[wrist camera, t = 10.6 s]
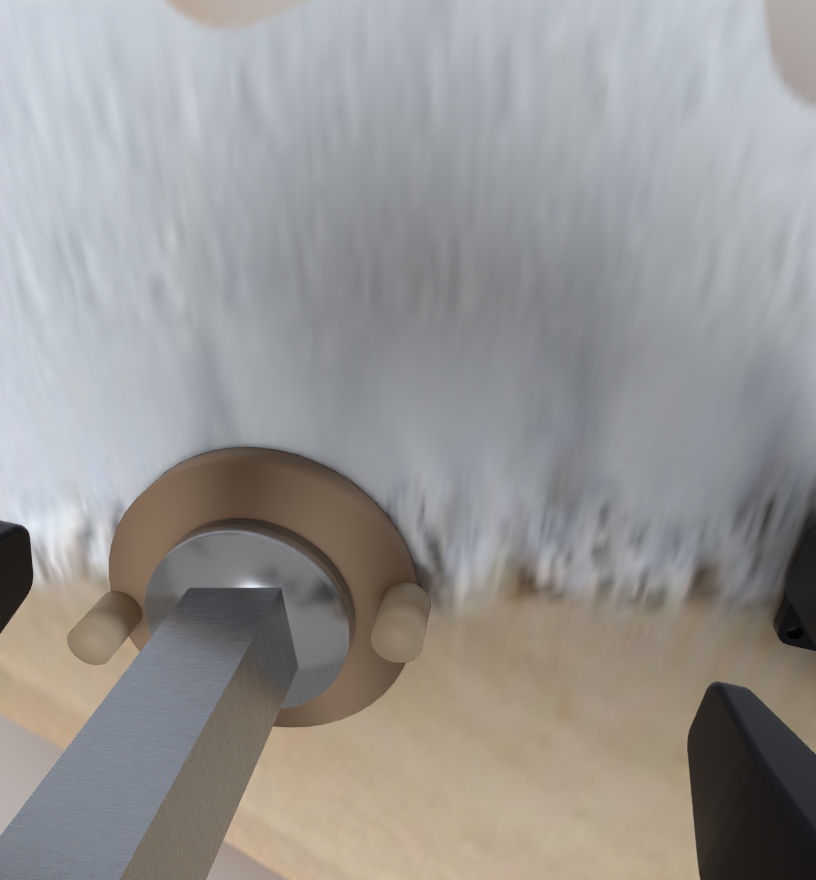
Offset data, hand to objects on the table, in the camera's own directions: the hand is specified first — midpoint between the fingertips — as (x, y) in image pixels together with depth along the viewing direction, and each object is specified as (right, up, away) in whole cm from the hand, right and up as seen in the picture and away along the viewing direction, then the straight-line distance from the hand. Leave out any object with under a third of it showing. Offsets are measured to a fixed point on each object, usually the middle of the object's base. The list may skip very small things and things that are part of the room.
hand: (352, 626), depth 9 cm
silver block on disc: (-5, -3, +15) cm, 16 cm away
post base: (-4, -3, +16) cm, 17 cm away
